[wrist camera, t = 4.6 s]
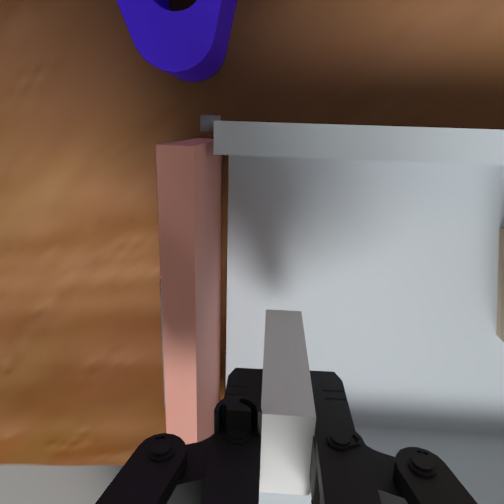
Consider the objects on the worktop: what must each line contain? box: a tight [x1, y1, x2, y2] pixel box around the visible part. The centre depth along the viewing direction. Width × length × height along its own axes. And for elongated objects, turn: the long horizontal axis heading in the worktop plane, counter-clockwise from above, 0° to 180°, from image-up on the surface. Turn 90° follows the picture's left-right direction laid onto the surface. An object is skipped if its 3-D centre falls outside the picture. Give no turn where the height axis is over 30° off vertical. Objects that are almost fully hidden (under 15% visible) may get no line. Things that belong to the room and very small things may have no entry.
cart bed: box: [200, 115, 504, 504], centre depth 21 cm, size 24×19×8 cm
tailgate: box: [156, 138, 222, 445], centre depth 19 cm, size 8×16×2 cm
